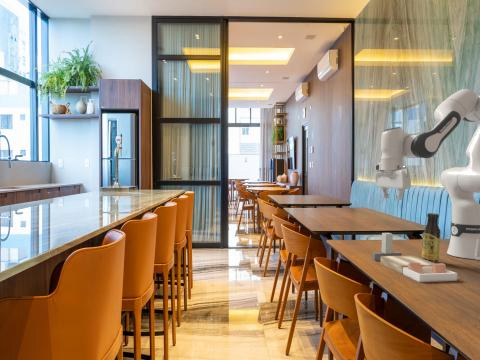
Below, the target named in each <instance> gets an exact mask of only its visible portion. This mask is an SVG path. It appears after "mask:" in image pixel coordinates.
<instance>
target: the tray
mask: <svg viewBox="0 0 480 360" xmlns="http://www.w3.org/2000/svg"><path fill="white" fill-rule="evenodd" d="M422 269H423V271H424V274H419V273H417V272H415V271H412V270H410V269H409V268H408V267H403V274H402V275H403V276H405V277H407V278H409V279H411V280H414V281H416V282H418V283H431V282H432V283H433V282H455V281H457V282H458V273H457V272H455V271H452V270H449V269H447V268H446V272H445V273H433V274H432V266H430V267H422Z"/></svg>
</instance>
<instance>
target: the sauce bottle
mask: <svg viewBox="0 0 480 360" xmlns="http://www.w3.org/2000/svg"><path fill="white" fill-rule="evenodd" d="M439 216H440V215H439V213H437V212H436V213H435V212H433V213H432V212H428V213H427V221H426V225H425V228H424V230H423V233H422V248H421V259H424V260H427V261H429V262H432V263H435V264H437V263H439V260H440V250H441V248H440V247H441V229H440V227H439V218H440V217H439Z"/></svg>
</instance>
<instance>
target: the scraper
mask: <svg viewBox="0 0 480 360" xmlns="http://www.w3.org/2000/svg"><path fill="white" fill-rule="evenodd" d="M393 240H394V235H393V233H391V232H382V233H381V251H380V252H378V251H377V252H372V253H371V260H372V261H375V262H377V261H378V262H380V261H381V256H403V255H402V252H400V251H393V243H394V242H393Z"/></svg>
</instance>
